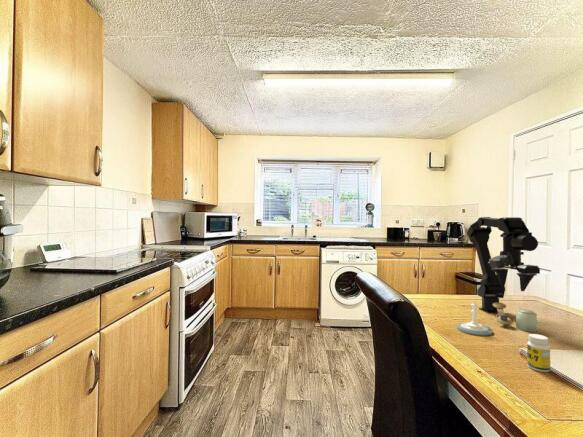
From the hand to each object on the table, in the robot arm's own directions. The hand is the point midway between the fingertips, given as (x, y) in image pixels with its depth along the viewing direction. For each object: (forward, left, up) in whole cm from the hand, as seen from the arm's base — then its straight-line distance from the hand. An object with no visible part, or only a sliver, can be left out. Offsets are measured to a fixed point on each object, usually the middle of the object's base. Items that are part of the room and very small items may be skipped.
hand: (512, 288), depth 120 cm
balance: (-1, -4, -13) cm, 14 cm away
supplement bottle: (+36, -26, -13) cm, 46 cm away
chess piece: (+7, -22, -12) cm, 26 cm away
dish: (+7, -22, -13) cm, 26 cm away
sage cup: (+8, -2, -13) cm, 15 cm away
